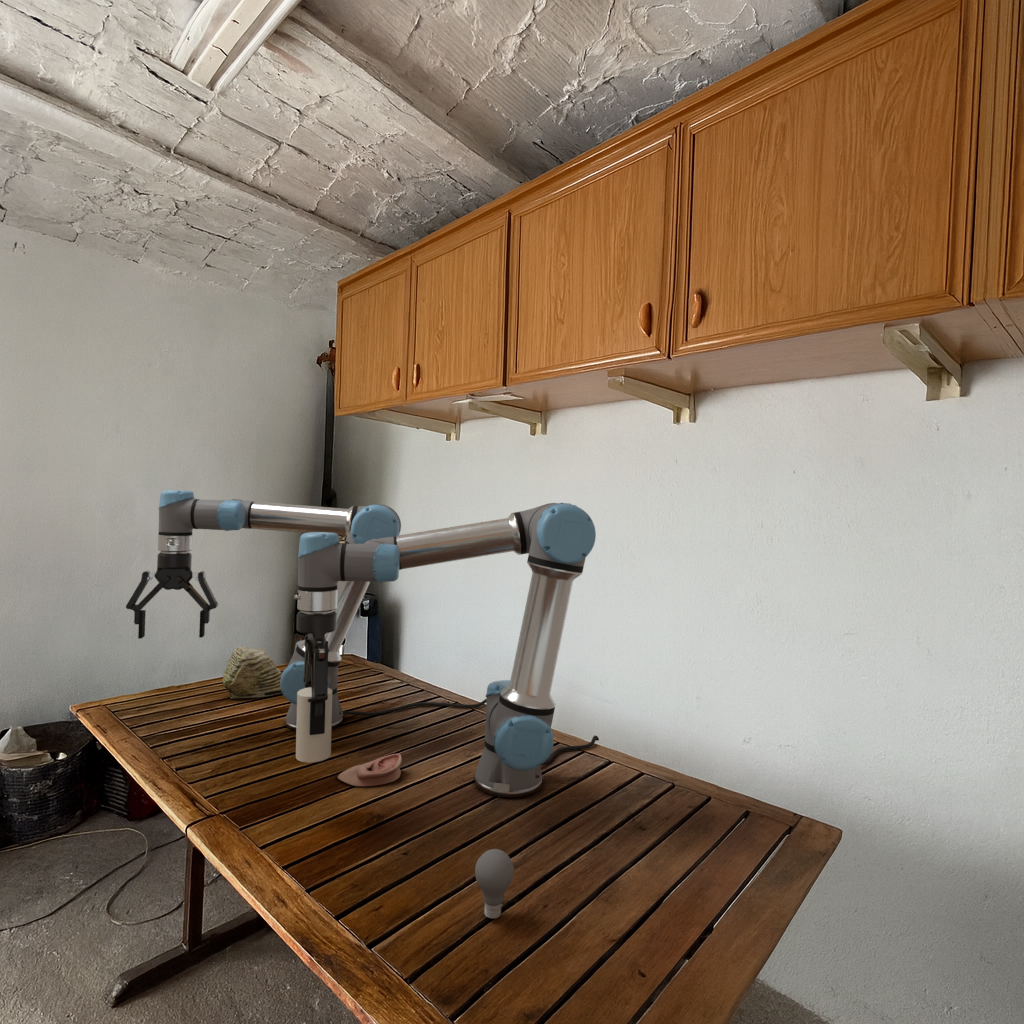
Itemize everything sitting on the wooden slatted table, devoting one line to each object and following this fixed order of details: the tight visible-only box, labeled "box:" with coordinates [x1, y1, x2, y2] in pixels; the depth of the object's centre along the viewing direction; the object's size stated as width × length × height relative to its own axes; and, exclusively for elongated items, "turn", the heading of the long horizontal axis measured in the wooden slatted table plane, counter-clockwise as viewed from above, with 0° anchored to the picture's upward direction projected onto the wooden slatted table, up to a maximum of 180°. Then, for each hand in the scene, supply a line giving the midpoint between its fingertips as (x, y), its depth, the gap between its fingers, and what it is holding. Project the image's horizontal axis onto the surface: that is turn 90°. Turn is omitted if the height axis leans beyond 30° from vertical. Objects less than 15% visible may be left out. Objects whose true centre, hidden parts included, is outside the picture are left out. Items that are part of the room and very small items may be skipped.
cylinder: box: [295, 687, 332, 764], centre depth 125 cm, size 7×7×13 cm
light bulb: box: [474, 848, 515, 919], centre depth 98 cm, size 6×6×10 cm
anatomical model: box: [337, 753, 403, 787], centre depth 144 cm, size 13×4×12 cm
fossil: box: [222, 646, 283, 699], centre depth 198 cm, size 9×18×15 cm, turn 132°
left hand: (172, 637), depth 158 cm, fingers open, 13 cm apart
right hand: (314, 726), depth 125 cm, fingers closed on cylinder, 7 cm apart
